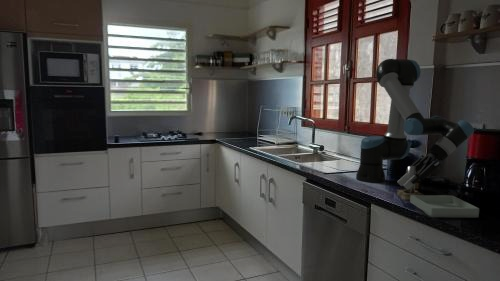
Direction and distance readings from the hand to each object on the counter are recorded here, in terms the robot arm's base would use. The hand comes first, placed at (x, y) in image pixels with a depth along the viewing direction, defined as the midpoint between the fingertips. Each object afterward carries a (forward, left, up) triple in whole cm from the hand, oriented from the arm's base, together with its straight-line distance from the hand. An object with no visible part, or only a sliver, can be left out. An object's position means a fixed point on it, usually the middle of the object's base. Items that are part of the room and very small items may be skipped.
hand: (402, 185), depth 162 cm
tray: (+16, +10, -6) cm, 20 cm away
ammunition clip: (-13, +11, -6) cm, 18 cm away
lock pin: (0, +4, -5) cm, 7 cm away
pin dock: (0, +4, -6) cm, 7 cm away
